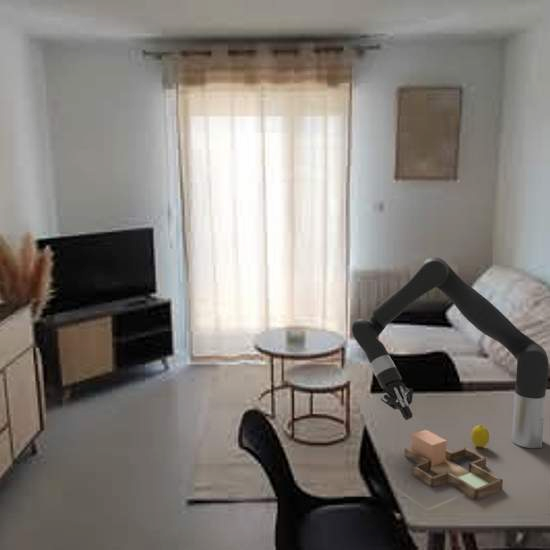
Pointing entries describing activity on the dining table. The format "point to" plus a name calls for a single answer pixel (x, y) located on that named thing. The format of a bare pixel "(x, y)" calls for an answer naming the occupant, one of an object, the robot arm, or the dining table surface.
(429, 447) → the block
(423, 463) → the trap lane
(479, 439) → the lemon
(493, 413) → the dining table surface
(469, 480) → the pad
